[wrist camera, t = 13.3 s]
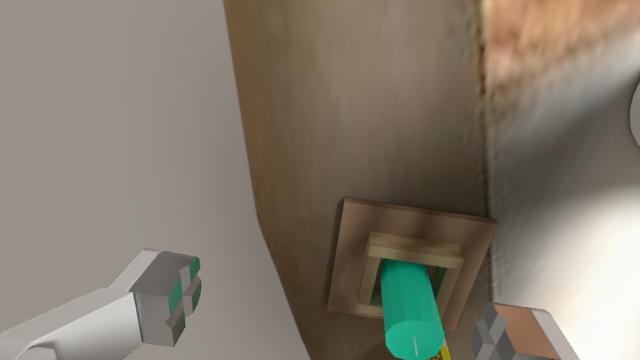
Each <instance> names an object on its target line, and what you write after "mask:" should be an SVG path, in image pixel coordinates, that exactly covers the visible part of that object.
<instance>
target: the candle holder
mask: <svg viewBox="0 0 640 360" xmlns="http://www.w3.org/2000/svg"><path fill="white" fill-rule="evenodd" d="M497 226H498V224H497V222H496V221H495V219H492V218H485V217H478V216H471V215H464V214H458V213H451V212H444V211H437V210H430V209H423V208H416V207H409V206H402V205H395V204H388V203H381V202H374V201H367V200H360V199H353V198H346V197H345V199H344V205H343V211H342V217H341V224H340V230H339V236H338V242H337V248H336V254H335V261H334V267H333V273H332V279H331V285H330V291H329V298H328V304H327V311H331V312H337V313H344V314H350V315H356V316H363V317H369V318H375V319H382V320H384V315H383V303H382V291H381V279H380V266H381V265H382V263H383V262H384V260H385V259H393V260H400V261H406V262H413V263H420V264H425V266H426V268H427V272H428V276H429V280H430V283H431V287H432V291H433V295H434V298H435V302H436V306H437V310H438V313H439V317H440V321H441V325H442V328H443V329H445V330H451V331H454V330H455V327H456V325H457V323H458V320H459V318H460V315H461V313H462V311H463V308H464V306H465V303H466V301H467V298H468V296H469V294H470V291H471V289H472V286H473V284H474V281H475V279H476V277H477V274H478V272H479V269H480V267H481V265H482V262H483V260H484V257H485V255H486V252H487V250H488V248H489V245H490V243H491V240H492V238H493V235H494V233H495V231H496V228H497Z"/></svg>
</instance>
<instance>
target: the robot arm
mask: <svg viewBox="0 0 640 360" xmlns="http://www.w3.org/2000/svg"><path fill="white" fill-rule="evenodd" d="M630 126H631V131H632V134H633V136H634V139H635V140H636V142H637V143H638V145H639V146H640V83H639V85H638V87H637V89H636V91H635V94H634V96H633V100H632V103H631V108H630ZM199 269H200V261H199V258H197V257H195V256H189V255H184V254H177V253H172V252H167V251H159V250H154V249H148V248H146V249H144V250H142V251H141V252H140V253H139V254H138V255H137V256H136V257H135V258H134V259H133V261H132V262H131V263H130V264H129V265H128V266H127V267H126V268H125V269H124V270H123V271H122V273H121V274H120V275H119V276H118V277H117V278H116V279H115V280H114V281H113V282H112V283H111V285H110V286H109V287H108V288H103V287H101V288H99V289H97V290H95V291H92V292H90V293H88V294H86V295H84V296H81V297H79V298H77V299H75V300H73V301H70V302H68V303H66V304H64V305H62V306H59V307H57V308H55V309H53V310H51V311H49V312H46V313H44V314H42V315H40V316H38V317H35V318H33V319H31V320H29V321H26V322H24V323H22V324H20V325H18V326H15V327H13V328H11V329H9V330H7V331H4V332H2V333H0V360H123V359H124V358H125V357H127V356H128V355H129V354H131V353H132V352H133V351H135V350H136V349H137V348H139V347H140V346H141V345H142V343H148V344H155V345H163V346H170V347H174V346H175V344H176V343H177V341H178V339H179V337H180V335H181V334H182V332H183V330H184V328H185V318H186V317H187V316H189V315H191V314H192V313H193V312H194V310H195V308H196V306H197V303H198V300H199V297H200V293H201V279H200V278H199V277H198V276H197V272H198V271H199ZM481 312H482V315H483V317H484V319H482V320H481V321H479V322H477V323H476V325H475V327H474V330H473V335H472V345H473V351H474V354H475V357H476V359H477V360H580V359H579V358H578V356H577V355H576V353H575V351H574V350H573V348H572V347H571V345H570V344H569V342H568V341H567V339H566V337H565V336H564V334H563V333H562V331H561V330H560V328H559V327H558V325H557V324H556V322H555V320H554V319H553V317H552V316H551V314H550V313H549V312H547V311H546V310H543V309H536V308H529V307H520V306H513V305H506V304H500V303H493V302H488V303H486V304H485V305H484V307H483V309H482V311H481Z"/></svg>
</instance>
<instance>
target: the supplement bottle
mask: <svg viewBox="0 0 640 360" xmlns="http://www.w3.org/2000/svg"><path fill="white" fill-rule="evenodd" d="M426 360H451V358H450V354H449V350H448V346H447V343H446V340H445V338H444V342H443V345H442V346H441V348H440V350H439V351H438V353H437V354H436V355H435V356H433V357H431V358H428V359H426Z"/></svg>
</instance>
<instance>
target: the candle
mask: <svg viewBox="0 0 640 360" xmlns="http://www.w3.org/2000/svg"><path fill="white" fill-rule="evenodd" d="M380 279H381V291H382V303H383V315H384V327H385V339H386V346H387V348H388V349H389V350H390V352H391V353H392V354H393V356H394V357H397V358H401V359H404V360H426V359H428V358H431V357H433V356H435V355H436V354H437V353H438V351H439V350H440V348H441V346H442V345H443V342H444V332H443V328H442V325H441V321H440V317H439V313H438V310H437V306H436V302H435V298H434V295H433V291H432V287H431V283H430V280H429V276H428V272H427V268H426V266H425V264H420V263H413V262H406V261H400V260H393V259H385V260H384V262H383V263H382V265H381V266H380Z"/></svg>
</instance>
